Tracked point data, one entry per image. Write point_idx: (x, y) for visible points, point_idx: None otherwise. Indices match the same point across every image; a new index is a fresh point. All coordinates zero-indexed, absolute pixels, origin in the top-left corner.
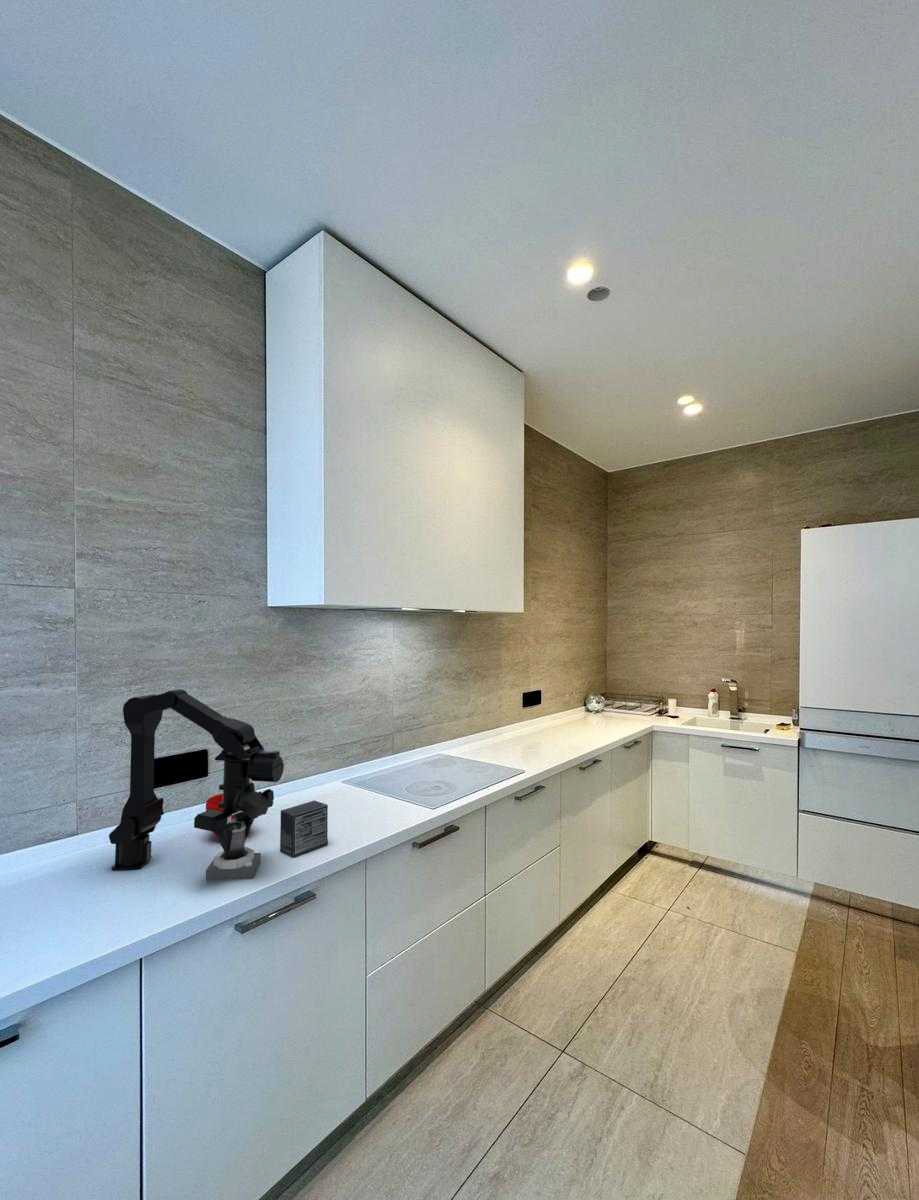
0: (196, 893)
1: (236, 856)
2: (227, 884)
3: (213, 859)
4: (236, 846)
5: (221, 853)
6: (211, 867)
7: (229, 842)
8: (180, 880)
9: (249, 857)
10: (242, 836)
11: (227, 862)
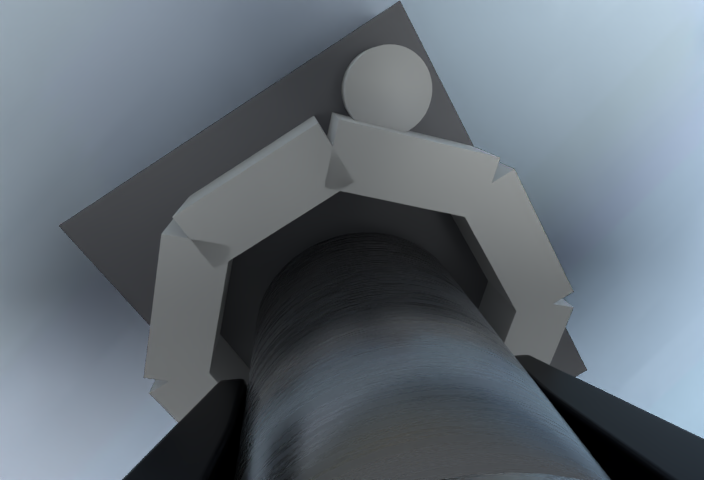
0: (698, 233)
1: (427, 262)
2: (529, 142)
3: None
4: (478, 320)
5: None
6: None
7: (606, 420)
8: None
9: (348, 124)
10: (415, 386)
11: (551, 249)
